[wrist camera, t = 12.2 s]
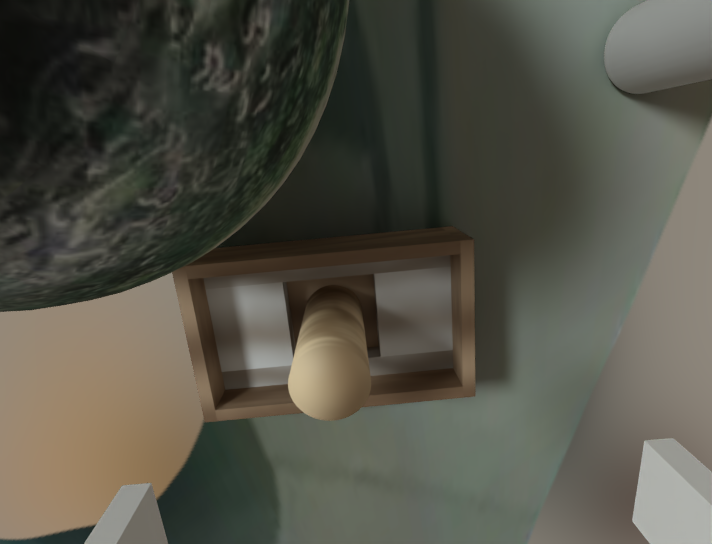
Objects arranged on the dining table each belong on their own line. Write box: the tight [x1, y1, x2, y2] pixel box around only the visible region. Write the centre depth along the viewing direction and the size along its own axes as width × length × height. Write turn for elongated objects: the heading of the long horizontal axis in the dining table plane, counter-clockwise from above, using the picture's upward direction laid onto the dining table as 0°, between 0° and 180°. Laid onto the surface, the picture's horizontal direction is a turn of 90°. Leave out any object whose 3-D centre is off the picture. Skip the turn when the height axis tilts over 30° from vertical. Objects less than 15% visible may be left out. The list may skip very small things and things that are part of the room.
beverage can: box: [604, 0, 712, 94], centre depth 26 cm, size 6×6×12 cm
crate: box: [172, 226, 475, 422], centre depth 34 cm, size 13×22×6 cm, turn 95°
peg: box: [288, 285, 371, 421], centre depth 30 cm, size 5×5×12 cm
